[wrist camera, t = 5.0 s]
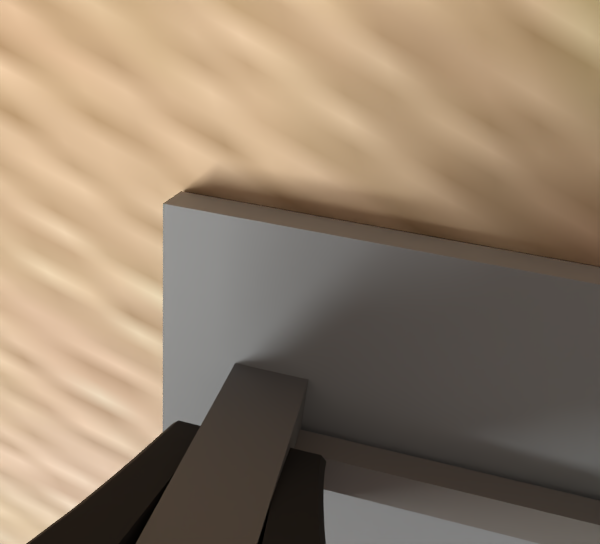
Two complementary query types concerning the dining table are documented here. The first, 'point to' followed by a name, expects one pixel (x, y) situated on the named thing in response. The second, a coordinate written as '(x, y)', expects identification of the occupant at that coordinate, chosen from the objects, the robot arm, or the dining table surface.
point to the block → (335, 477)
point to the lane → (389, 348)
